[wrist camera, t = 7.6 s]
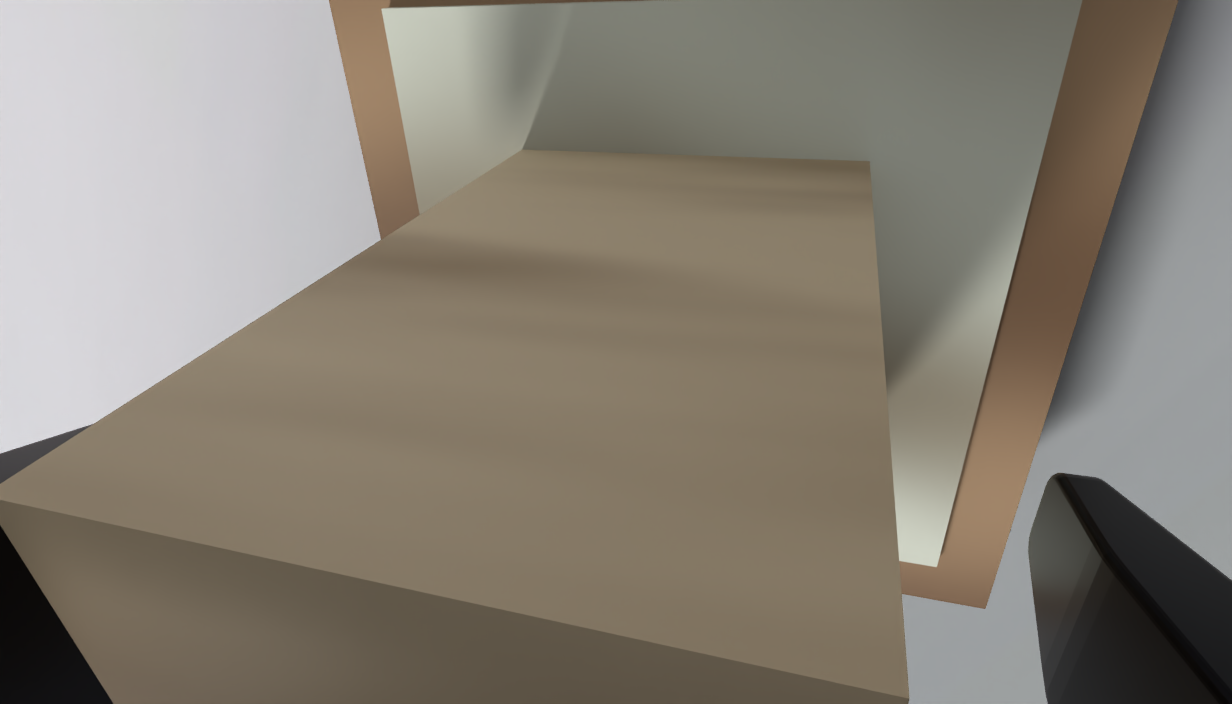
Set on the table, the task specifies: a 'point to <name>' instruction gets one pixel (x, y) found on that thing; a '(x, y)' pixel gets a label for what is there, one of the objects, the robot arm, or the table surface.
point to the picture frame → (825, 130)
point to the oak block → (513, 461)
